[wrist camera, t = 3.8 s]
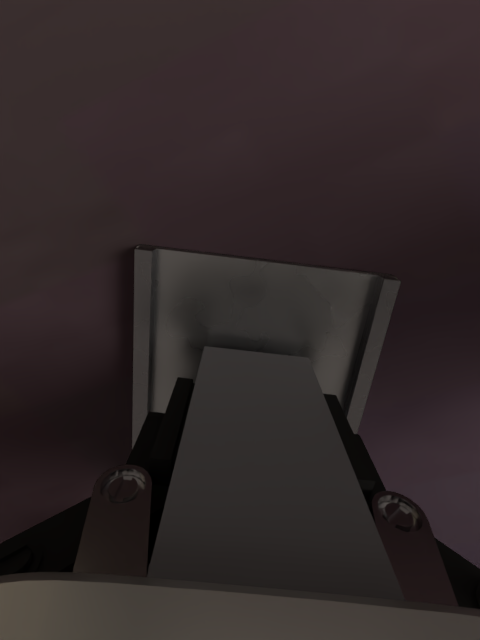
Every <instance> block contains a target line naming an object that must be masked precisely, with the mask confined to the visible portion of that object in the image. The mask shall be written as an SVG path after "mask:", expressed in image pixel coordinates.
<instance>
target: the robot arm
mask: <svg viewBox="0 0 480 640" xmlns="http://www.w3.org/2000/svg"><path fill="white" fill-rule="evenodd" d="M194 386H195V383H193V379H190V378H181V377H178V378H177V380H176V383H175V386H174V389H173V392H172V395H171V397H170V400H169V403H168V406H167V409H166V412H165V413H159V412H149V413H148V415H147V417H146V419H145V421H144V424H143V426H142V428H141V431H140V433H139V435H138V438H137V440H136V442H135V445H134V447H133V449H132V452H131V454H130V456H129V459H128V461H127V463H126V465H119V466H116V467H113V468H111V469H109V470H107V471H106V472H104V473H103V474H102V475H101V476H100V477H99V478H98V479H97V481H96V483H95V485H94V488H93V492H92V496H91V497H90V498H88V499H86V500H84V501H82V502H80V503H78V504H76V505H74V506H72V507H70V508H68V509H67V510H65V511H63V512H61V513H59V514H57V515H55V516H53V517H51V518H49V519H47V520H45V521H43V522H41V523H39V524H37V525H35V526H33V527H31V528H30V529H28V530H26V531H24V532H22V533H20V534H18V535H16V536H14V537H12V538H10V539H8V540H6V541H4V542H3V543H1V544H0V640H480V569H479V568H477V567H476V566H474V565H473V564H472V563H470V562H469V561H467V560H466V559H464V558H463V557H462V556H460V555H459V554H457V553H456V552H454V551H453V550H451V549H450V548H449V547H447V546H446V545H444V544H443V543H441V542H440V541H438V540H437V539H436V538H434V535H433V533H432V530H431V527H430V524H429V521H428V519H427V517H426V515H425V513H424V512H423V511H422V510H421V508H420V507H419V506H418V505H417V504H416V503H414V502H413V501H412V500H411V499H409V498H407V497H405V496H404V495H402V494H399V493H396V492H391V491H386V489H385V487H384V485H383V483H382V481H381V479H380V477H379V475H378V473H377V470H376V468H375V466H374V464H373V462H372V460H371V458H370V456H369V454H368V452H367V450H366V448H365V445H364V443H363V441H362V439H361V437H360V436H359V435H358V434H354V433H353V431H352V429H351V427H350V424H349V422H348V420H347V418H346V416H345V413H344V411H343V409H342V407H341V405H340V403H339V400H338V398H337V396H336V395H332V394H323V395H324V397H325V400H326V402H327V405H328V407H329V410H330V412H331V415H332V417H333V420H334V422H335V425H336V427H337V430H338V432H339V435H340V437H341V440H342V442H343V445H344V448H345V450H346V453H347V455H348V458H349V460H350V463H351V465H352V468H353V470H354V473H355V475H356V478H357V480H358V483H359V485H360V488H361V490H362V493H363V495H364V498H365V500H366V503H367V505H368V508H369V510H370V513H371V515H372V518H373V520H374V523H375V525H376V528H377V530H378V533H379V535H380V538H381V540H382V543H383V545H384V548H385V550H386V553H387V555H388V558H389V561H390V563H391V566H392V568H393V571H394V573H395V576H396V578H397V581H398V583H399V586H400V588H401V591H402V593H403V596H404V598H405V601H402V600H391V599H381V598H371V597H361V596H350V595H340V594H329V593H318V592H308V591H297V590H286V589H275V588H264V587H253V586H242V585H230V584H219V583H207V582H195V581H183V580H172V579H160V578H148V577H147V574H148V564H150V562H151V558H152V554H153V550H154V546H155V542H156V538H157V534H158V530H159V526H160V522H161V518H162V514H163V510H164V506H165V502H166V498H167V494H168V490H169V486H170V482H171V478H172V474H173V470H174V466H175V462H176V458H177V454H178V450H179V446H180V442H181V438H182V434H183V430H184V426H185V422H186V418H187V414H188V410H189V406H190V402H191V398H192V394H193V390H194Z"/></svg>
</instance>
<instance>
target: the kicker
mask: <svg viewBox="0 0 480 640" xmlns="http://www.w3.org/2000/svg"><path fill="white" fill-rule="evenodd" d="M147 577H148V578H160V579H172V580H183V581H195V582H207V583H219V584H230V585H242V586H253V587H264V588H275V589H286V590H297V591H308V592H318V593H329V594H340V595H350V596H361V597H371V598H381V599H391V600H402V601H405V598H404V596H403V593H402V591H401V588H400V586H399V583H398V581H397V578H396V576H395V573H394V571H393V568H392V566H391V563H390V561H389V558H388V555H387V553H386V550H385V548H384V545H383V543H382V540H381V538H380V535H379V533H378V530H377V528H376V525H375V523H374V520H373V518H372V515H371V513H370V510H369V508H368V505H367V503H366V500H365V498H364V495H363V493H362V490H361V488H360V485H359V483H358V480H357V478H356V475H355V473H354V470H353V468H352V465H351V463H350V460H349V458H348V455H347V453H346V450H345V448H344V445H343V442H342V440H341V437H340V435H339V432H338V430H337V427H336V425H335V422H334V420H333V417H332V415H331V412H330V410H329V407H328V405H327V402H326V400H325V397H324V395H323V392H322V390H321V387H320V385H319V382H318V380H317V377H316V375H315V372H314V370H313V367H312V365H311V362H310V360H309V358H306V357H297V356H288V355H280V354H271V353H262V352H253V351H244V350H235V349H226V348H217V347H208V346H204V350H203V354H202V358H201V362H200V366H199V370H198V374H197V378H196V382H195V386H194V390H193V394H192V398H191V402H190V406H189V410H188V414H187V418H186V422H185V426H184V430H183V434H182V438H181V442H180V446H179V450H178V454H177V458H176V462H175V466H174V470H173V474H172V478H171V482H170V486H169V490H168V494H167V498H166V502H165V506H164V510H163V514H162V518H161V522H160V526H159V530H158V534H157V538H156V542H155V546H154V550H153V554H152V558H151V562H150V564H148V574H147Z"/></svg>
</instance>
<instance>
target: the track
mask: <svg viewBox="0 0 480 640" xmlns="http://www.w3.org/2000/svg"><path fill="white" fill-rule="evenodd" d="M396 278H397V277H395V276H393V275H391V274H383V273H375V272H366V271H358V270H350V269H341V268H333V267H325V266H317V265H308V264H300V263H292V262H283V261H275V260H267V259H258V258H250V257H242V256H234V255H225V254H217V253H209V252H200V251H192V250H184V249H176V248H167V247H159V246H151V245H142V244H140V245H138V246H137V248H136V249H135V254H134V336H133V418H132V449H133V447H134V445H135V442H136V440H137V438H138V435H139V433H140V431H141V428H142V426H143V424H144V421H145V419H146V417H147V415H148V413H149V412H159V413H165V412H166V409H167V406H168V403H169V400H170V397H171V395H172V392H173V389H174V386H175V383H176V380H177V378H178V377H181V378H190V379H193V383H195V382H196V378H197V374H198V370H199V366H200V362H201V358H202V354H203V350H204V346H208V347H217V348H226V349H235V350H244V351H253V352H262V353H271V354H280V355H288V356H297V357H306V358H309V360H310V362H311V365H312V367H313V370H314V372H315V375H316V377H317V380H318V382H319V385H320V387H321V390H322V392H323V394H332V395H336V396H337V398H338V400H339V403H340V405H341V407H342V409H343V411H344V413H345V416H346V418H347V420H348V422H349V424H350V427H351V429H352V431H353V433H354V434H357V432H358V428H359V425H360V422H361V418H362V415H363V411H364V408H365V404H366V401H367V397H368V394H369V390H370V387H371V383H372V380H373V377H374V373H375V370H376V366H377V363H378V359H379V356H380V352H381V349H382V345H383V342H384V338H385V335H386V332H387V328H388V325H389V321H390V318H391V314H392V311H393V307H394V304H395V300H396V297H397V293H398V290H399V287H400V283H401V281H400V280H398V279H396Z"/></svg>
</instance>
